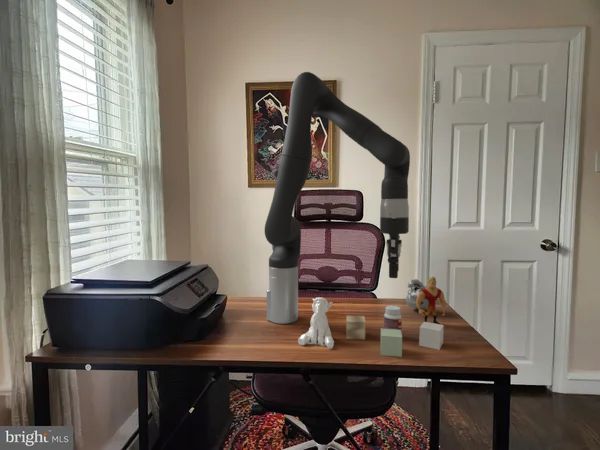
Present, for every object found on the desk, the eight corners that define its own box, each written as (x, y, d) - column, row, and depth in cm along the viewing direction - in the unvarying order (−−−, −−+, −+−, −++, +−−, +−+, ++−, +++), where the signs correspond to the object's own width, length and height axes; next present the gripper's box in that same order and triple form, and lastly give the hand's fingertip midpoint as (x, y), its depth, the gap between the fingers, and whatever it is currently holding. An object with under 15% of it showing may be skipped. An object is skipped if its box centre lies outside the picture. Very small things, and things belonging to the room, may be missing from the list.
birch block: (346, 339, 97) (346, 321, 97) (346, 332, 102) (346, 315, 102) (365, 339, 96) (365, 322, 96) (364, 333, 101) (364, 316, 101)
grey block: (419, 345, 93) (419, 327, 92) (423, 339, 97) (424, 321, 96) (439, 350, 90) (439, 330, 90) (443, 343, 94) (443, 325, 94)
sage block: (380, 355, 87) (381, 335, 86) (380, 347, 92) (380, 328, 91) (401, 357, 86) (402, 337, 85) (400, 348, 91) (400, 329, 90)
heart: (442, 315, 115) (440, 278, 117) (414, 316, 114) (413, 279, 115) (426, 311, 125) (425, 277, 127) (401, 312, 124) (400, 278, 125)
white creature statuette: (297, 345, 92) (297, 300, 91) (305, 333, 101) (305, 292, 100) (332, 349, 90) (333, 303, 89) (338, 337, 98) (338, 294, 97)
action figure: (419, 327, 106) (420, 277, 105) (414, 323, 110) (415, 275, 109) (449, 325, 107) (450, 277, 106) (442, 321, 111) (444, 274, 110)
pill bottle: (402, 341, 95) (402, 310, 95) (384, 339, 96) (384, 309, 96) (400, 334, 100) (401, 305, 99) (383, 333, 101) (383, 304, 100)
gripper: (382, 214, 104) (381, 269, 105) (378, 216, 90) (377, 279, 91) (408, 214, 102) (408, 270, 103) (408, 216, 88) (408, 281, 89)
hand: (393, 274), depth 97 cm, fingers open, 8 cm apart
